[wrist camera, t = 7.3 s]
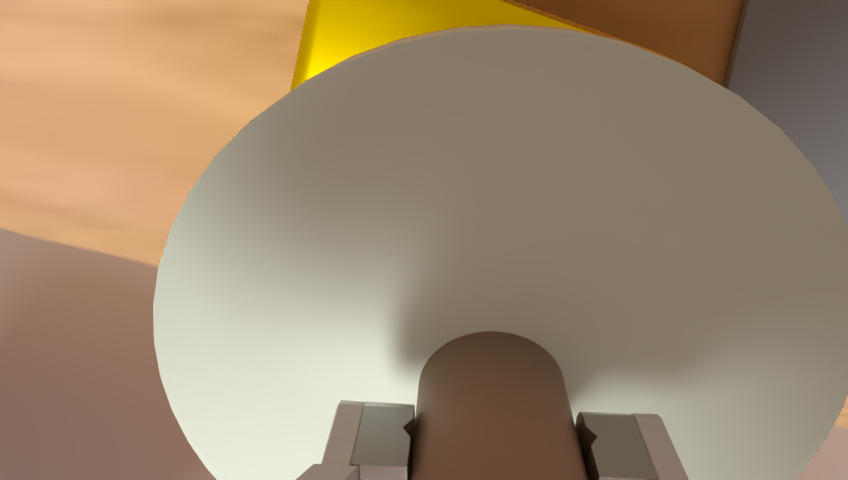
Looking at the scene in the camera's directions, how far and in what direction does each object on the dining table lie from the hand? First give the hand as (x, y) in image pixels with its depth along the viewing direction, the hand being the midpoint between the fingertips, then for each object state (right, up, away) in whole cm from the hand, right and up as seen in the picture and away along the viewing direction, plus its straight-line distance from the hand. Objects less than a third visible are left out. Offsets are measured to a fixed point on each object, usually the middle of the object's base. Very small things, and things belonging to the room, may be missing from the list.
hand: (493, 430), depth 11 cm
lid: (0, +1, +2) cm, 2 cm away
